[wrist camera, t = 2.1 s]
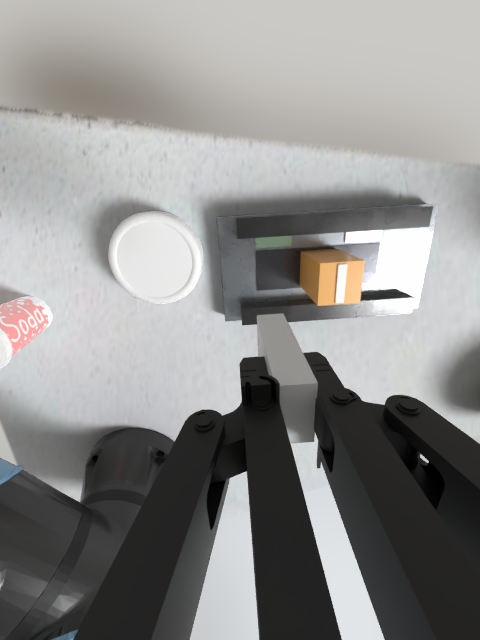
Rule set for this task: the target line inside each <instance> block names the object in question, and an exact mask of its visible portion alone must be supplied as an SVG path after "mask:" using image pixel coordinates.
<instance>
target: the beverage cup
mask: <svg viewBox="0 0 480 640" xmlns="http://www.w3.org/2000/svg"><path fill="white" fill-rule="evenodd" d="M51 322H52V312H51V310H50V308H49V306H48V305H47V304H46V303H45V302H43V301H42V300H40V299H38V298H36V297H31V296H25V297H20V298H18V299H15V300H12V301H9V302H6V303H3V304H1V305H0V369H1V368H2V367H4V366H5V365H6V364H7V363H9V361H10V359H11V357H12V356H13V355H14V354H16V353H17V352H18V351H19V350H20V349H22V348H23V347H24V346H25V345H26V344H28V343H29V342H30V341H31V340H33V339H34V338H35V337H36V336H37V335H39V334H40V333H41V332H42V331H43V330H45V329H46V328H47V327H48V326H49V325H50V324H51Z"/></svg>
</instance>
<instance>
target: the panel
mask: <svg viewBox="0 0 480 640" xmlns="http://www.w3.org/2000/svg"><path fill="white" fill-rule="evenodd" d="M438 207H439V204H417V205H401V206H384V207H368V208H352V209H335V210H319V211H303V212H287V213H270V214H254V215H238V216H221V217H217V225H218V238H219V250H220V262H221V274H222V286H223V298H224V310H225V321H236V320H242V325H253V324H257V315H267V314H282V313H283V314H284V316H285V318H286V320H287V322H296V321H311V320H325V319H340V318H354V317H369V316H383V315H398V314H412V311H413V308H418V303H419V298H420V294H421V289H422V284H423V279H424V274H425V270H426V265H427V260H428V255H429V250H430V246H431V241H432V236H433V231H434V226H435V222H436V217H437V212H438ZM322 249H338V250H341V251H343V252H346V253H348V254H351V255H353V256H355V257H358V258H360V259H363V260H365V265H364V273H363V282H362V290H361V298H360V303H355V304H340V305H325V306H317V305H316V304H315V302H314V301H313V300H312V299H311V298H310V297H309V296H308V295H307V293H306V292H305V291H304V290H303V289H302V288H301V287H300V254H301V251H307V250H322Z"/></svg>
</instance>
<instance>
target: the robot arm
mask: <svg viewBox="0 0 480 640" xmlns="http://www.w3.org/2000/svg"><path fill="white" fill-rule="evenodd" d="M257 333H258V357H249V358H243V360H242V361H241V363H240V378H241V393H242V402H241V404H240V406H239V407H238V408H237V409H236V410H235V411H233V412H231V413H229V414H226V415H223V416H222V415H221V414H220V413H218V412H217V411H214V410H201V411H198V412H195V413H194V414H192V415H190V416H189V417H188V419H187V420H186V421H185V423H184V425H183V427H182V429H181V431H180V433H179V435H178V437H177V439H176V441H175V442H173V441H172V440H171V439H169V438H168V437H166V436H164V435H162V434H160V433H157V432H154V431H150V430H146V429H124V430H119V431H115V432H113V433H110V434H108V435H107V436H105V437H103V438H102V439H101V440H100V441H99V442H98V443H97V444H96V445H95V447H94V449H93V451H92V452H91V454H90V456H89V458H88V460H87V463H86V467H85V473H84V480H83V486H82V493H81V499H80V502H78V501H76V500H74V499H73V498H71V497H69V496H67V495H65V494H64V493H62V492H60V491H58V490H56V489H55V488H53V487H51V486H50V485H48V484H46V483H45V482H43V481H41V480H39V479H38V478H36V477H34V476H33V475H31V474H29V473H28V472H26V471H24V470H22V469H23V468H24V467H22V466H21V465H18V466H16V465H14V464H11V463H10V462H8V461H6V460H4V459H1V458H0V640H189V639H190V636H191V631H192V628H193V624H194V619H195V616H196V612H197V608H198V604H199V600H200V596H201V592H202V587H203V583H204V580H205V576H206V571H207V567H208V564H209V560H210V556H211V552H212V548H213V544H214V540H215V535H216V532H217V528H218V524H219V520H220V516H221V512H222V508H223V504H224V500H225V496H226V492H227V488H228V484H229V478H231V477H233V476H236V475H238V474H241V473H243V472H246V471H247V478H248V492H249V505H250V519H251V532H252V544H253V545H252V546H253V559H254V573H255V587H256V600H257V614H258V627H259V640H342V639H341V635H340V631H339V628H338V624H337V621H336V616H335V613H334V608H333V605H332V601H331V597H330V593H329V590H328V586H327V582H326V578H325V574H324V570H323V566H322V563H321V559H320V555H319V551H318V548H317V544H316V540H315V536H314V532H313V528H312V525H311V521H310V517H309V513H308V509H307V505H306V501H305V498H304V494H303V490H302V486H301V482H300V479H299V475H298V471H297V467H296V463H295V459H294V456H293V452H292V448H291V444H290V443H302V442H314V435H315V433H316V435H317V438H318V452H317V468H320V465H321V462H322V465H323V468H324V470H325V473H326V476H327V479H328V482H329V484H330V487H331V490H332V493H333V495H334V498H335V501H336V504H337V507H338V510H339V512H340V515H341V518H342V521H343V524H344V527H345V529H346V532H347V535H348V538H349V541H350V543H351V546H352V549H353V552H354V555H355V557H356V560H357V563H358V566H359V569H360V571H361V574H362V577H363V580H364V583H365V585H366V588H367V591H368V594H369V597H370V599H371V602H372V605H373V608H374V611H375V613H376V616H377V619H378V621H379V625H380V627H381V630H382V633H383V636H384V639H385V640H480V444H479V443H477V442H476V441H475V440H473V439H472V438H471V437H469V436H468V435H467V434H465V433H464V432H462V431H461V430H460V429H458V428H457V427H456V426H454V425H453V424H452V423H450V422H449V421H447V420H446V419H445V418H443V417H442V416H441V415H439V414H438V413H437V412H435V411H434V410H432V409H431V408H430V407H428V406H427V405H426V404H424V403H423V402H421V401H419V400H417V399H415V398H412V397H409V396H404V395H393V396H391V397H389V398H387V400H386V402H385V405H381V404H374V403H368V402H364V401H362V400H361V399H360V397H359V396H358V395H357V394H356V393H355V392H353V391H351V390H349V389H346V388H344V386H343V385H342V383H341V381H340V380H339V378H338V377H337V375H336V373H335V372H334V371H333V369H332V367H331V365H329V362H328V361H327V359H326V358H325V357H324V356H323V355H321V354H320V353H318V352H311V353H303V352H302V350H301V348H300V346H299V344H298V342H297V340H296V338H295V336H294V334H293V332H292V330H291V328H290V326H289V324H288V322H287V320H286V318H285V316H284V314H283V313H282V314H267V315H257ZM420 454H422V455H423V456H424V457H425V458H426V459H427V460H428V461H429V463H426V462H425V461H423V460H422V459H421V458H420Z"/></svg>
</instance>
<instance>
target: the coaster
mask: <svg viewBox="0 0 480 640" xmlns="http://www.w3.org/2000/svg"><path fill="white" fill-rule="evenodd" d="M108 258H109V264H110V268H111V270H112V273H113V275H114V277H115V279H116V280H117V282H118V283H119V284H120V285H121V286H122V288H123V289H125V290H126V291H127V292H128V293H129V294H131V295H132V296H134V297H136V298H137V299H140V300H142V301H145V302H148V303H153V304H167V303H171V302H175V301H178V300H180V299H182V298H183V297H185V296H186V295H187V294H189V293H190V292H191V291H192V289H193V288H194V287H195V285H196V284H197V282H198V279H199V277H200V274H201V271H202V268H203V260H204V257H203V249H202V245H201V243H200V240H199V238H198V236H197V235H196V233H195V232H194V230H193V229H192V228H191V227H190V226H189V225H188V224H187V223H186V222H185V221H183V220H182V219H180V218H179V217H177V216H175V215H172V214H169V213H166V212H161V211H149V212H141V213H137V214H134V215H132V216H130V217H128V218H126V219H125V220H124V221H122V222H121V223H120V224H119V225H118V227H117V228H116V229H115V231H114V233H113V235H112V237H111V240H110V243H109V249H108Z"/></svg>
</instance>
